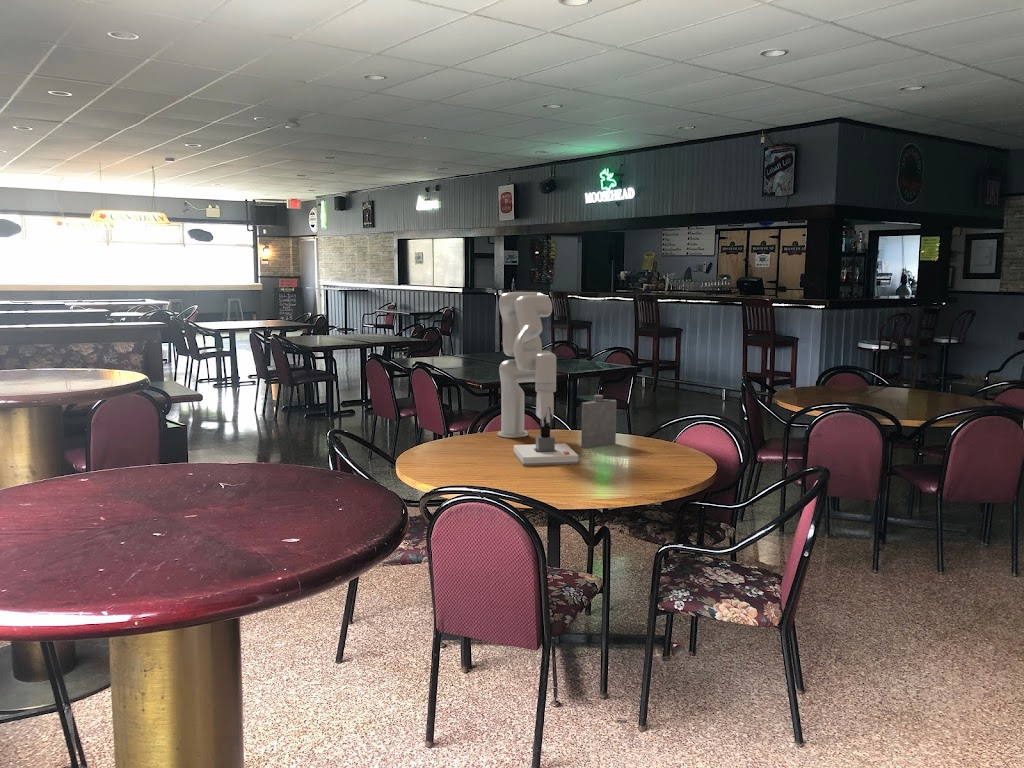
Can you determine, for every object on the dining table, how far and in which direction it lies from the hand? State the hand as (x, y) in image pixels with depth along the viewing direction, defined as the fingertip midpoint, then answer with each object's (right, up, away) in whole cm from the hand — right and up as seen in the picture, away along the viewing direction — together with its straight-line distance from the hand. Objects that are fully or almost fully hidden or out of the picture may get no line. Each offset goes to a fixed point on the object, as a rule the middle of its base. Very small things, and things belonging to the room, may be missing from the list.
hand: (545, 436), depth 293 cm
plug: (0, -7, +1) cm, 7 cm away
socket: (0, -8, +1) cm, 8 cm away
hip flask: (+22, -5, +23) cm, 32 cm away
